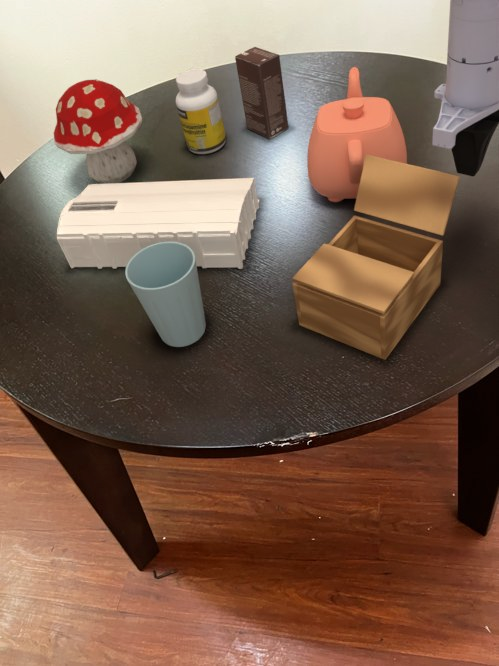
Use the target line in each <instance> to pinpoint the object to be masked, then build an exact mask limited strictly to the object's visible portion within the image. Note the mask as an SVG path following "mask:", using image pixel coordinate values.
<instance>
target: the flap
mask: <svg viewBox="0 0 499 666" xmlns="http://www.w3.org/2000/svg"><path fill="white" fill-rule="evenodd" d="M460 178H461V177H460V175H458V174H453V173H448V172H446V171H445V172H444V171H441V170H437V169H436V170H435V169H432V168H427V167H422V166H420V165H419V166H418V165H413V164H410V163H409V164H408V163H407V164H405V163H401V162H397V161H392V160H388V159H384V158H379V157H375V156H371V155H366V157H365V161H364V166H363V171H362V175H361V180H360V185H359V189H358V194H357V198H355V203H354V208H353V211H354V212H358V213H362V214H364V215H368V216H373V217H374V218H375V217H376V218H379V219H382V220H386V221H389V222H393V223H395V224H401V225H403V226H406V227H411V228H415V229H417V230H421V231H423V232H424V231H425V232H428V233H432V234H436V235H438V236H444V235H445V232H446V228H447V225H448V221H449V218H450V213H451V210H452V206H453V203H454V199H455V196H456V192H457V188H458V185H459V181H460Z"/></svg>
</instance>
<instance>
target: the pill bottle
mask: <svg viewBox="0 0 499 666" xmlns="http://www.w3.org/2000/svg"><path fill="white" fill-rule="evenodd" d="M175 82H176V88H177V89H178V92H177V94H176V96H175V106H176V109H177V114H178V117H179V121H180V125H181V129H182V133H183V136H184V139H185V140H184V141H185V144H186V147H187V149H188V150H189V151H190V152H191V153H192V154H197V155H208V154H212V153H215V152H217V151H219V150H220V149H221V148H223V146H225V144H226V142H227V135H226V130H225V126H224V121H223V116H222V110H221V106H220V102H219V97H218V93H217V91H216V89H215V88H214V87H213V86H211V85H210V84H209V78H208V74H207V72H206V70H205V69H201V68H192V69H191V68H190V69H187V70H184V71H182V72H180V73H179V74H178V75H177V76H176V77H175Z"/></svg>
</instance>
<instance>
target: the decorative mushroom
mask: <svg viewBox="0 0 499 666" xmlns="http://www.w3.org/2000/svg"><path fill="white" fill-rule="evenodd" d="M55 116H56V123H55V127H54V130H53V139H54V141H53V142H54V145H55V146H56V147H57V148H58V149H59V150H62V151H64V152H66V153H68V154H70V155H86V156H85V164H86V171H87V174H88V176H89V178H91V179H92V180H95V181H96V182H97V183H98V184H112V183H123V182H124V181H125V180H127V179H128V178H130V177H131V176H132V174H133V173H134V172H135V170H136V166H137V164H138V161H137V158H136V154H135V151H134V150H133V148H132V147H131V146H130V145H129V144H128V143H127V142H125V141H127V140H128V139H130V138H132V137H134V135H135V134H136V132H137V131H138V129H139V128H140V127H141V125H142V124H143V117H142V114H141V111H140V108H139V107H138V106H136V105H135V104H133V103H132V102H130V101H129V100H128V99H127V97H126V96H125V94H124V93H123V91H122V90H121V89H120V88H119V87H117V86H115V85H114V84H111V83H109V82H107V81H104V80H100V79H96V78H95V79H85V80H81V81H77V82H76V83H75V84H73V85H71V86H69V87H67V89H66V90H65V91H64V92H63V94H62V95H61V97H59V98H58V101H57V104H56V107H55Z"/></svg>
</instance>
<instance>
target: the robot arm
mask: <svg viewBox="0 0 499 666" xmlns="http://www.w3.org/2000/svg"><path fill="white" fill-rule="evenodd" d="M448 17H449V18H448V19H449V20H448V36H447V54H446V72H445V73H446V74H445V83H442V84H440V85H439V86H438V87H436V89H435V90H434V95H433V96H434V98H435V99H437V100H441V105H440V110H439V115H438V119H437V121H436V124H435V125H434V126H433V128H432V142H431V143H432V146H433V147H438V148H442V149H448V150H451V153H452V158H453V162H454V166H455V171H456V173H457V174H460V175H464V176H469V177H475V176H476V175H477V174H478V172H479V171H480V170H481V167H482V165H483V162H484V161H485V157H486V154H487V151H488V148H489V145H490V142H491V140H492V138H493V136H494V133H496V132H495V131H496V130H497V127H498V126H499V0H449V15H448Z"/></svg>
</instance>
